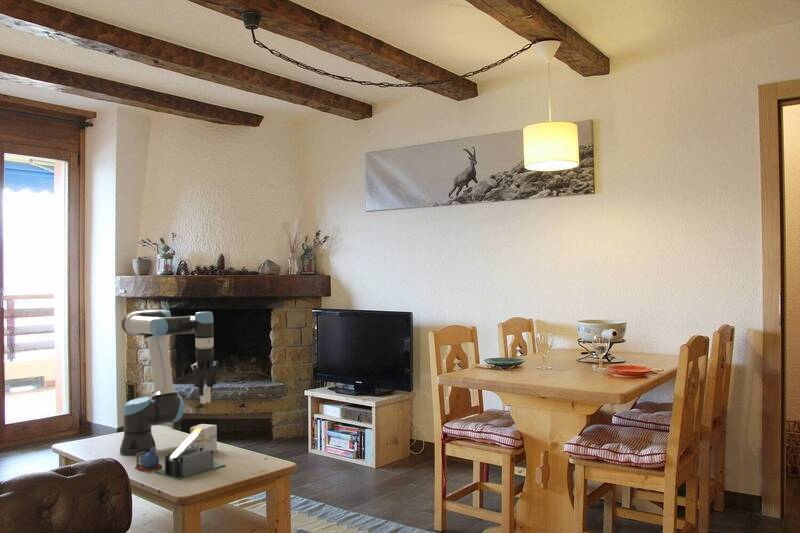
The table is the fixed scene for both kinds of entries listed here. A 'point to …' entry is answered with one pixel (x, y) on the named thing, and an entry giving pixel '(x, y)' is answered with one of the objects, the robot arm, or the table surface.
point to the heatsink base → (189, 463)
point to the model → (148, 461)
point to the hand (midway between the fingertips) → (205, 402)
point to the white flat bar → (186, 444)
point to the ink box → (205, 437)
